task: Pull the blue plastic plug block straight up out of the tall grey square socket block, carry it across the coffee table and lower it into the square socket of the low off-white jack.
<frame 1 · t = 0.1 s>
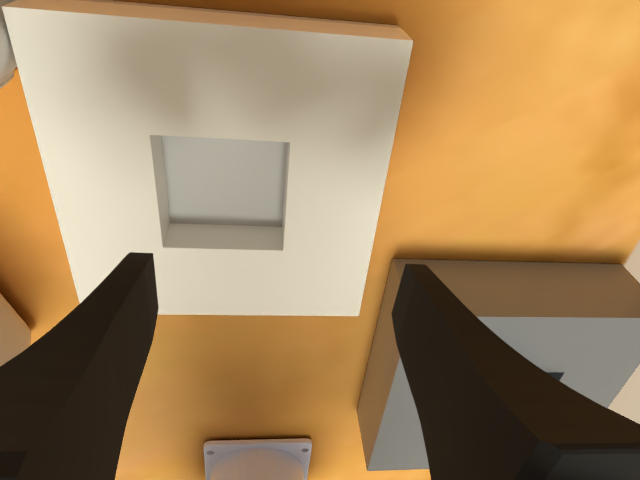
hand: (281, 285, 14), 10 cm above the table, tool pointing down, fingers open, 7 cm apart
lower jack: (226, 171, 23), on the table
grey square socket block: (475, 344, 32), on the table
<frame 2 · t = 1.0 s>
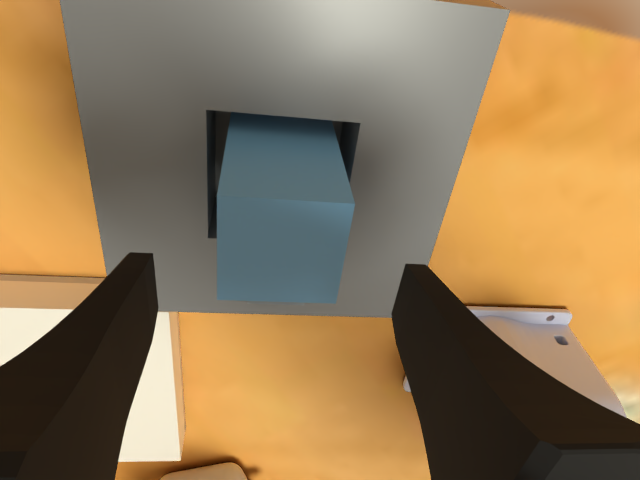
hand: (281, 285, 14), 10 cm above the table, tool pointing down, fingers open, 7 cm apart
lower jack: (65, 362, 30), on the table
plug: (278, 146, 21), point 1 cm above the table, touching grey square socket block
grey square socket block: (277, 136, 22), on the table
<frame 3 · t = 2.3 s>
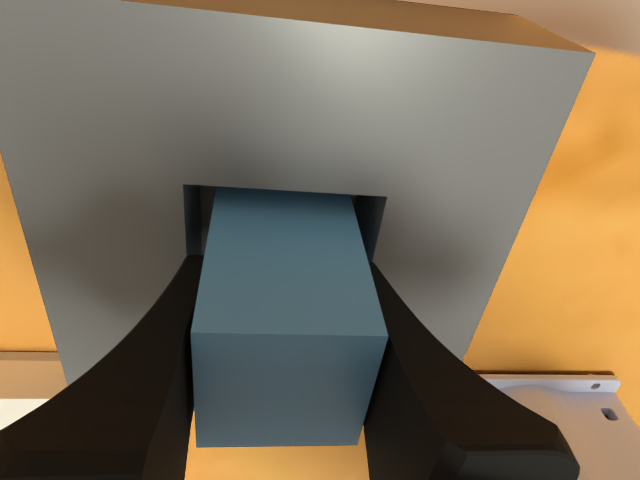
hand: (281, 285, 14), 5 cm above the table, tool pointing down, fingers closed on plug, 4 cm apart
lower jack: (32, 440, 26), on the table
plug: (278, 208, 17), point 1 cm above the table, touching gripper, grey square socket block
grey square socket block: (278, 194, 18), on the table
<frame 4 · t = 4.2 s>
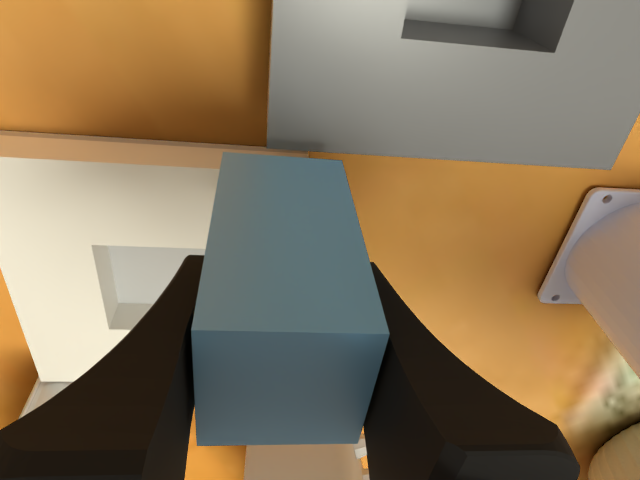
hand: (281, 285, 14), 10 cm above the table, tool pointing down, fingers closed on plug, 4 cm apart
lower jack: (167, 260, 26), on the table
plug: (279, 206, 17), point 6 cm above the table, touching gripper
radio: (326, 456, 39), on the table
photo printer: (74, 396, 32), on the table
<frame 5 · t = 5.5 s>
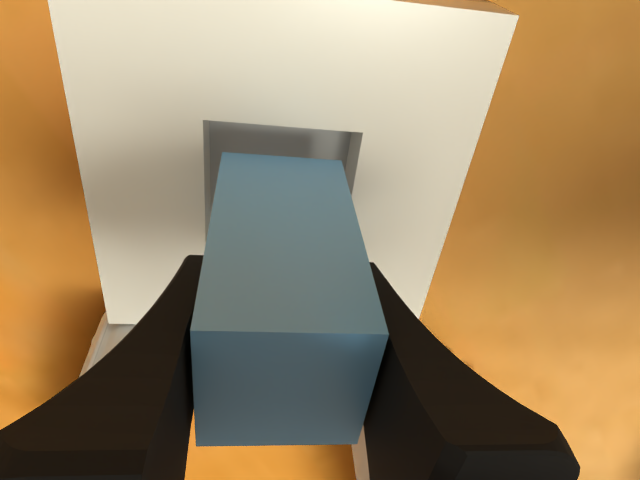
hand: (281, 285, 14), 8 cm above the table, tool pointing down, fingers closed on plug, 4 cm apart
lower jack: (278, 165, 20), on the table
plug: (278, 206, 17), point 3 cm above the table, touching gripper
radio: (417, 434, 33), on the table
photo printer: (134, 353, 26), on the table
when the fingers open (6 cm above the table, at t = 6.3 s): plug drops 1 cm, resting on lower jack.
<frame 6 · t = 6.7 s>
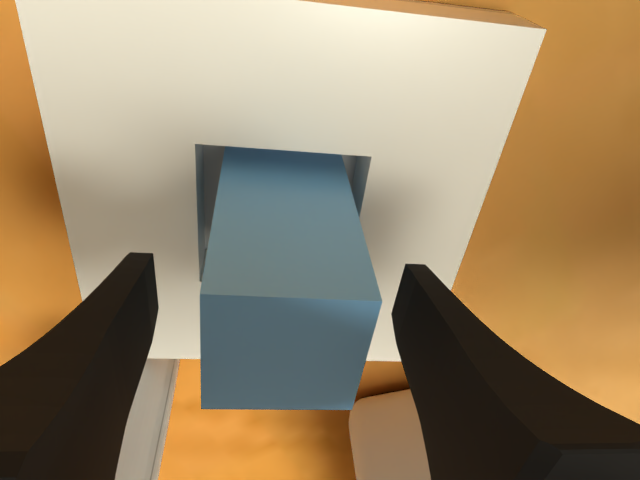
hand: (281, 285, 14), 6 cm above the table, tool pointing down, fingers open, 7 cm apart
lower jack: (278, 187, 18), on the table
plug: (279, 192, 18), resting on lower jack
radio: (423, 460, 32), on the table
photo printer: (125, 382, 25), on the table
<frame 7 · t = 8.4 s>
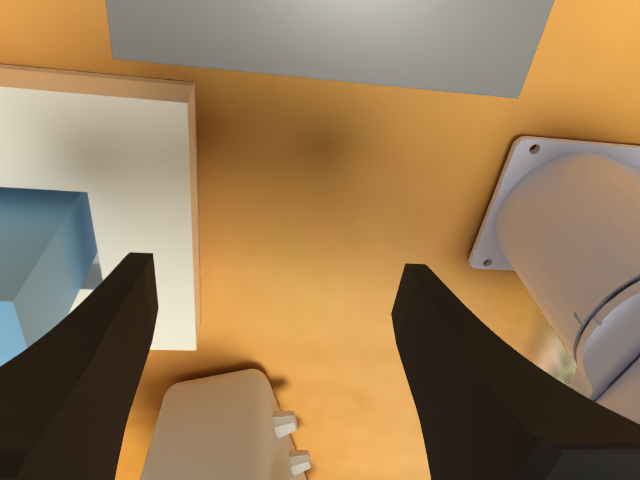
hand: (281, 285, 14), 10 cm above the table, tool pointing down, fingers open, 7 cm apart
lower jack: (51, 211, 23), on the table
plug: (48, 215, 23), resting on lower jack
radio: (258, 438, 37), on the table
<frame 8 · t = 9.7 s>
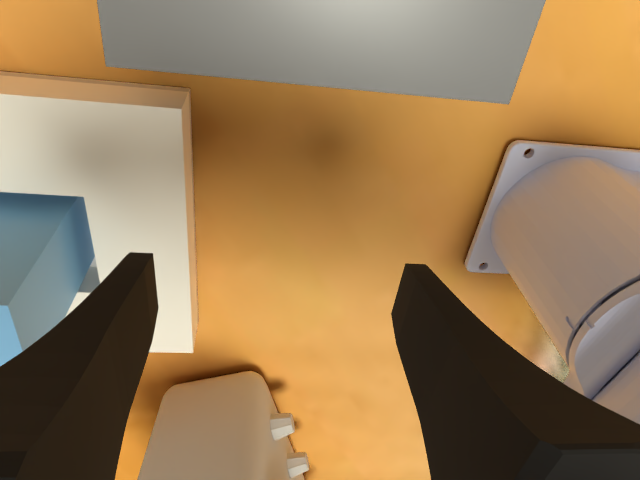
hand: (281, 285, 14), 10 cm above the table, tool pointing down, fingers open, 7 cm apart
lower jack: (50, 215, 24), on the table
plug: (46, 219, 23), resting on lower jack
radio: (256, 440, 37), on the table
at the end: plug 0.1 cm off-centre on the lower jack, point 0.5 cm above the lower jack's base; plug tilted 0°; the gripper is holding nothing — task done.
